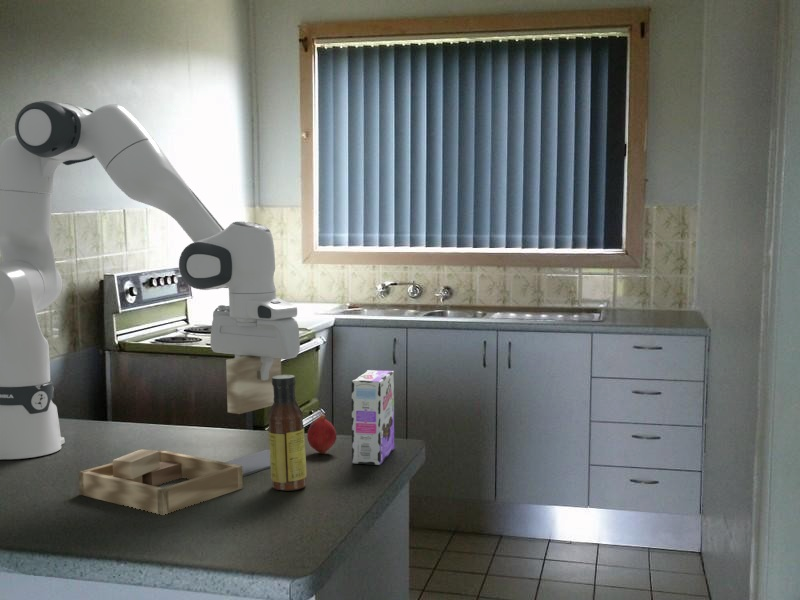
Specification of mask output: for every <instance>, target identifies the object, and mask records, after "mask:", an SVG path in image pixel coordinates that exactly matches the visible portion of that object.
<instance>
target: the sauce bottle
mask: <svg viewBox="0 0 800 600" xmlns="http://www.w3.org/2000/svg"><path fill="white" fill-rule="evenodd" d="M272 385H273V389H274V403H273V405H272V406H270V410H269V411H268V417H267V418H268V442H269V446H268V447H269V450H270V465H271V468H270V479H271V484H272V487H273V488H274V489H275V490H277V491H284V492H285V491H286V492H290V491H298V490H301V489H304V488H305V487H306V485H307V476H308V475H307V460H306V459H307V458H306V457H307V456H306V441H305V439H306V438H305V427H304V422H303V420H304V419H303V411H302V410H301V408H300V406H299V404H298V402H297V400H296V392H295V391H296V376H295V375H294V374H281V375H278V376H273V377H272Z"/></svg>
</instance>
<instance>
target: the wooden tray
mask: <svg viewBox="0 0 800 600" xmlns="http://www.w3.org/2000/svg"><path fill="white" fill-rule="evenodd" d="M157 451H160V462H162V461H165V460H167V461H172V462H177V463H181V467H182V478H181V479H186V478H187V480H184V481H182V482H178V483H175V484H172V485H169V486H165V487H161V486H152V485H147V484H143V483H138V482H134V481H130V480H125V479H121V478H116V477H112V475H113V462H110V463H107V464H103V465H100V466H99V465H98V466H95V467H92V468H88V469H84V470H81V471H78V485H79V486H78V487H79V488H78V491H79V496H85V497H87V498H92V499H95V500H100V501H104V502H108V503H111V504H112V503H113V504H114V505H115V504H116V505H120V506H123V505H124V507H127V506H129V507H128V508H131V507H133V508H132V509H135V508H136V510H139V509H141V510H140V511H143V510H145V511H144V512H147V511H148V513H151V512H152V513H151V514H155V513H156V515H159V514H160V515H159V516H166V515H168V513H169V514H171V512H172V513H174V511H175V512H177V511H180V510H183V509H186V508H189V507H192V506H195V505H198V504H201V503H203V501H204V502H206V501H209V500H212V499H216V498H218V497H220V496H223V495H224V496H225V495H226V494H227V495H228V494H229V493H232V492H236V491H238V490H241V489H244V479H243V477H244V476H243V467H242V466H241V465H236V464H230V463H225V462H226V461H220V460H214V459H209V458H204V457H199V456H193V455H188V454H184V453H177V452H173V451H168V450H162V449H159V450H157ZM200 502H201V503H200ZM194 504H195V505H194ZM191 505H192V506H191ZM188 506H189V507H188ZM185 507H186V508H185ZM179 509H180V510H179ZM176 510H177V511H176ZM165 514H166V515H165Z"/></svg>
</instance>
